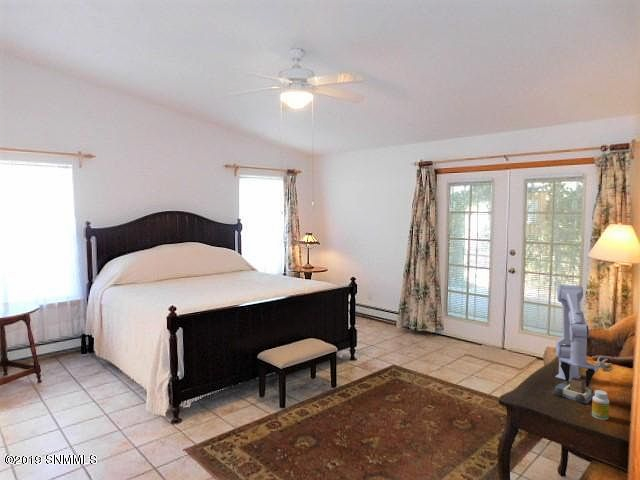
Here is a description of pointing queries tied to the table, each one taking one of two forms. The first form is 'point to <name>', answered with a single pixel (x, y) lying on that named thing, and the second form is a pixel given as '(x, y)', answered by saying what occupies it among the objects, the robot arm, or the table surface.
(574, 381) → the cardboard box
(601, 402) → the supplement bottle
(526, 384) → the table surface
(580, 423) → the table surface
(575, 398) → the toy truck
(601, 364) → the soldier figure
